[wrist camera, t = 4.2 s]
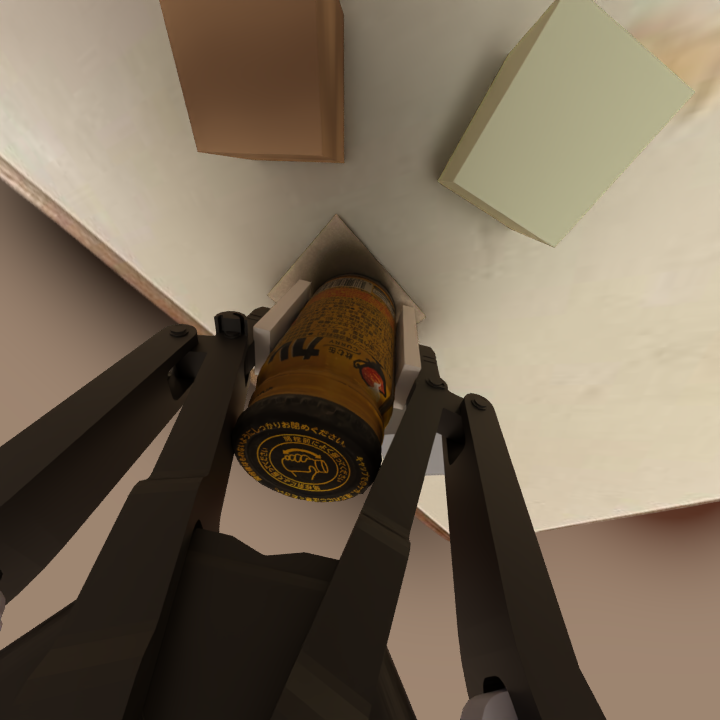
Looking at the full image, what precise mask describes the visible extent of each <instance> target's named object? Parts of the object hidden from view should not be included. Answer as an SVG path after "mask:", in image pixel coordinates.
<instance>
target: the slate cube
mask: <svg viewBox="0 0 720 720" xmlns="http://www.w3.org/2000/svg"><path fill="white" fill-rule="evenodd" d="M405 410H406V404H405V406H404V408H403V410H401V409H397V408H393V413H392V416H391V418H390V421H389V423H388V425H387V426H386V428H385V430H384V440H383V444H382V446H381V447H382V452H381V453H382V456H383V459H384V458H385V456H386V453H387V451H388V449H389V447H390V444H391V442H392V440H393V438H394V435H395V433H396V431H397V428H398V426H399V424H400V422H401V419H402V417H403V415H404V413H405ZM425 475H445V472H444V461H443V449H442V435H440V434H438V433H436V436H435V439H434V443H433V447H432V451H431V454H430V458H429V462H428V466H427V470H426V473H425Z"/></svg>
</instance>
